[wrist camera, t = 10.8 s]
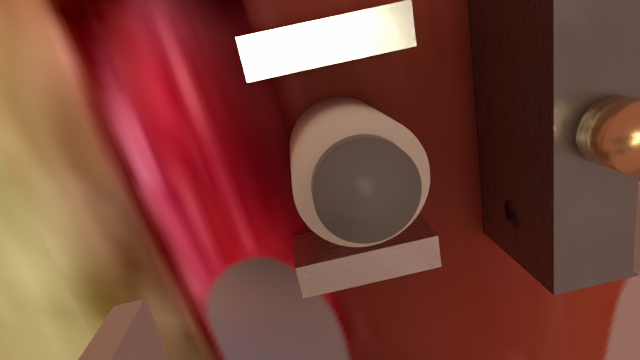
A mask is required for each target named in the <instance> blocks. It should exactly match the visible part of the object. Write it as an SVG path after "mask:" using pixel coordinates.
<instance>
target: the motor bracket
mask: <svg viewBox="0 0 640 360" xmlns="http://www.w3.org/2000/svg"><path fill="white" fill-rule="evenodd" d="M469 14H470V29H471V43H472V58H473V73H474V87H475V102H476V117H477V131H478V146H479V161H480V175H481V190H482V205H483V219H484V233H485V234H486V235H487V236H488V237H489V238H490V239H492V240H493V241H494V242H495V243H496V244H497V245H498V246H499V247H501V248H502V249H503V250H504V251H505V252H506V253H507V254H508V255H509V256H511V257H512V258H513V259H514V260H515V261H516V262H517V263H518V264H520V265H521V266H522V267H523V268H524V269H525V270H526V271H527V272H528V273H530V274H531V275H532V276H533V277H534V278H535V279H536V280H537V281H539V282H540V283H541V284H542V285H543V286H544V287H545V288H546V289H547V290H549V291H550V292H551V293H552V294H553V295H557V294H561V293H565V292H570V291H574V290H578V289H583V288H587V287H591V286H595V285H600V284H604V283H608V282H612V281H617V280H621V279H625V278H630V277H634V276H638V275H639V274H637V273H635V272H634V271H633V264H634V247H635V231H636V214H637V198H638V182H639V181H640V0H469ZM235 39H236V43H237V47H238V50H239V54H240V58H241V62H242V66H243V70H244V73H245V77H246V81H247V83H249V82H254V81H258V80H263V79H267V78H272V77H277V76H281V75H286V74H290V73H295V72H299V71H304V70H309V69H313V68H318V67H322V66H327V65H332V64H336V63H341V62H345V61H350V60H355V59H359V58H364V57H368V56H373V55H378V54H382V53H387V52H391V51H396V50H401V49H405V48H410V47H414V46H417V45H416V37H415V28H414V19H413V10H412V1H411V0H406V1H401V2H397V3H392V4H387V5H383V6H378V7H373V8H369V9H364V10H360V11H355V12H350V13H346V14H341V15H336V16H332V17H327V18H322V19H318V20H313V21H308V22H304V23H299V24H294V25H290V26H285V27H280V28H276V29H271V30H266V31H262V32H257V33H252V34H248V35H243V36H238V37H235ZM293 238H294V255H295V269H296V273H297V277H298V281H299V285H300V288H301V292H302V296H303V299H304V298H308V297H313V296H317V295H322V294H326V293H330V292H335V291H339V290H343V289H347V288H352V287H356V286H360V285H365V284H369V283H373V282H378V281H382V280H386V279H391V278H395V277H399V276H404V275H408V274H412V273H417V272H421V271H425V270H430V269H434V268H438V267H442V266H441V257H440V248H439V240H438V235H437V234H436V233H435V231H434V230H433V229H432V228H431V227H430V226H429V224H428V223H427V222H426V221H425V220H424V219H423V217H422V216H421V215H420V214H418V215H417V217H416V218H415V219H414V221H413V222H412V223H411V224H410V225H409V226H408V227H407V228H406V229H405V230H403V231H402V232H401V233H399V234H398V235H396V236H395V237H393V238H391V239H389V240H387V241H385V242H382V243H379V244H376V245H372V246H366V247H347V246H342V245H338V244H335V243H332V242H330V241H327V240H325V239H323V238H322V237H320V236H319V235H317V234H316V233H315V232H314V231H310V232H305V233H301V234H297V235H293Z"/></svg>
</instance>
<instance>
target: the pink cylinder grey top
mask: <svg viewBox="0 0 640 360" xmlns="http://www.w3.org/2000/svg"><path fill="white" fill-rule="evenodd" d="M289 147H290V164H291V178H292V192H293V197H294V202H295V205H296V208H297V210H298V212H299V214H300V216H301V218H302V219H303V221H304V222H305V223H306V224H307V226H308V227H309V228H310V229H311V230H312V231H314V232H315V233H316V234H317V235H319V236H320V237H322V238H323V239H325V240H327V241H330V242H332V243H335V244H338V245H342V246H347V247H366V246H372V245H376V244H379V243H382V242H385V241H387V240H389V239H391V238H393V237H395V236H396V235H398V234H399V233H401V232H402V231H403V230H405V229H406V228H407V227H408V226H409V225H410V224H411V223H412V222H413V221H414V219H415V218H416V217H417V215H418V214H419V212H420V211H421V209H422V207H423V205H424V203H425V201H426V198H427V195H428V191H429V187H430V167H429V162H428V158H427V155H426V152H425V150H424V149H423V147H422V145H421V143H420V142H419V140H418V139H417V138H416V137H415V135H414V134H413V133H412V132H411V131H409V130H408V129H407V128H406V127H404V126H403V125H401V124H400V123H398V122H396V121H395V120H393V119H391V118H390V117H388V116H386V115H385V114H383V113H381V112H380V111H378V110H376V109H375V108H373V107H372V106H370V105H368V104H367V103H365V102H363V101H361V100H359V99H356V98H352V97H346V96H335V97H329V98H326V99H322V100H320V101H318V102H316V103H314V104H313V105H311V106H310V107H309V108H307V109H306V110H305V111H304V112H303V113H302V114H301V116H300V117H299V118H298V120H297V121H296V123H295V125H294V127H293V130H292V133H291V137H290V144H289Z"/></svg>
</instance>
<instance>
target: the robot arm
mask: <svg viewBox="0 0 640 360" xmlns="http://www.w3.org/2000/svg"><path fill="white" fill-rule="evenodd" d="M633 271H634V272H635V273H637V274H639V275H640V181H639V182H638V198H637V214H636V231H635V247H634V264H633ZM79 360H170V359H169V357H168V354H167V352H166V349H165V347H164V345H163V342H162V340H161V337H160V335H159V332H158V330H157V328H156V325H155V323H154V320H153V318H152V315H151V313H150V311H149V308H148V306H147V303H146V301H145V299H142V300H138V301H134V302H129V303H125V304H121V305H117V306H114V307H113V309H112V310H111V312H110V313H109V315H108V316H107V318H106V319H105V321H104V322H103V324H102V325H101V327H100V328H99V330H98V331H97V333H96V334H95V336H94V337H93V339H92V340H91V342H90V343H89V345H88V346H87V348H86V349H85V351H84V352H83V354H82V355H81V357H80V358H79Z"/></svg>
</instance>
